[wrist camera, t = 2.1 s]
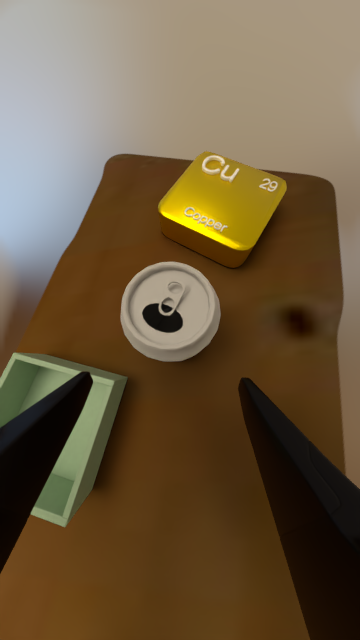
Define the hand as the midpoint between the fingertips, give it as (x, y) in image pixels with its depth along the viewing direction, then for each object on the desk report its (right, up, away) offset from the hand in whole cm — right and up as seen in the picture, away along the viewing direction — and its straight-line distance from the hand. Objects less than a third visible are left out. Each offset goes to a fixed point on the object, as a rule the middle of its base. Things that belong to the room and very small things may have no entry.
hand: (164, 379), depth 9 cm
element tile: (+7, +20, +17) cm, 28 cm away
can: (0, +1, +12) cm, 13 cm away
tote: (-13, -8, +10) cm, 19 cm away
